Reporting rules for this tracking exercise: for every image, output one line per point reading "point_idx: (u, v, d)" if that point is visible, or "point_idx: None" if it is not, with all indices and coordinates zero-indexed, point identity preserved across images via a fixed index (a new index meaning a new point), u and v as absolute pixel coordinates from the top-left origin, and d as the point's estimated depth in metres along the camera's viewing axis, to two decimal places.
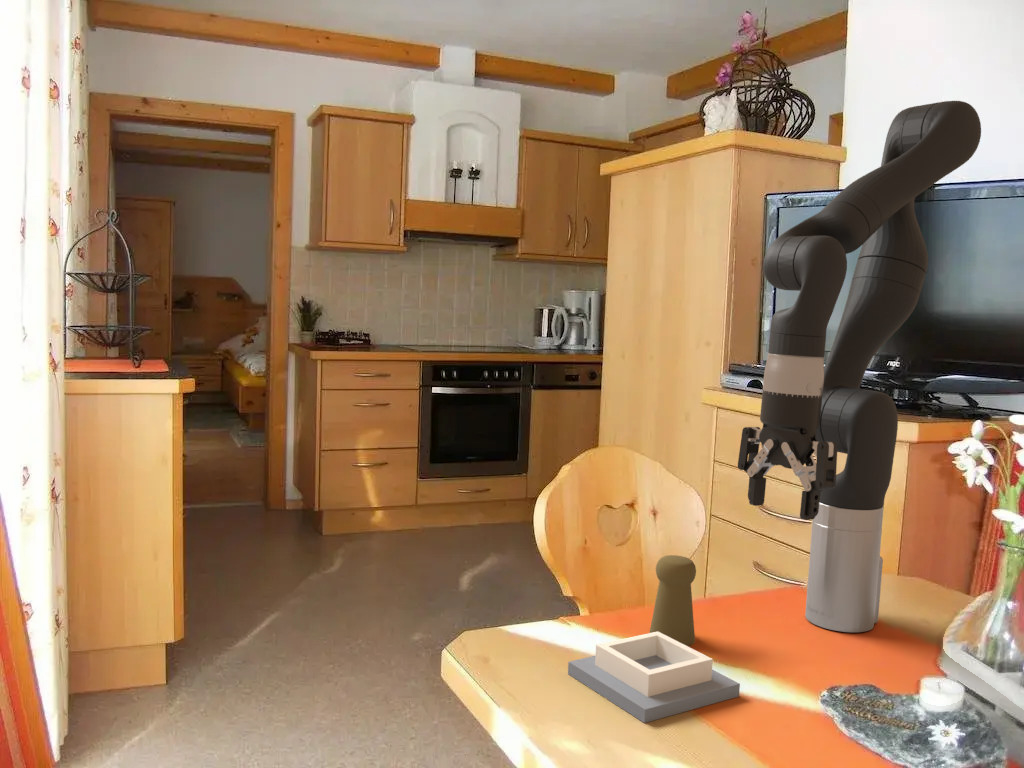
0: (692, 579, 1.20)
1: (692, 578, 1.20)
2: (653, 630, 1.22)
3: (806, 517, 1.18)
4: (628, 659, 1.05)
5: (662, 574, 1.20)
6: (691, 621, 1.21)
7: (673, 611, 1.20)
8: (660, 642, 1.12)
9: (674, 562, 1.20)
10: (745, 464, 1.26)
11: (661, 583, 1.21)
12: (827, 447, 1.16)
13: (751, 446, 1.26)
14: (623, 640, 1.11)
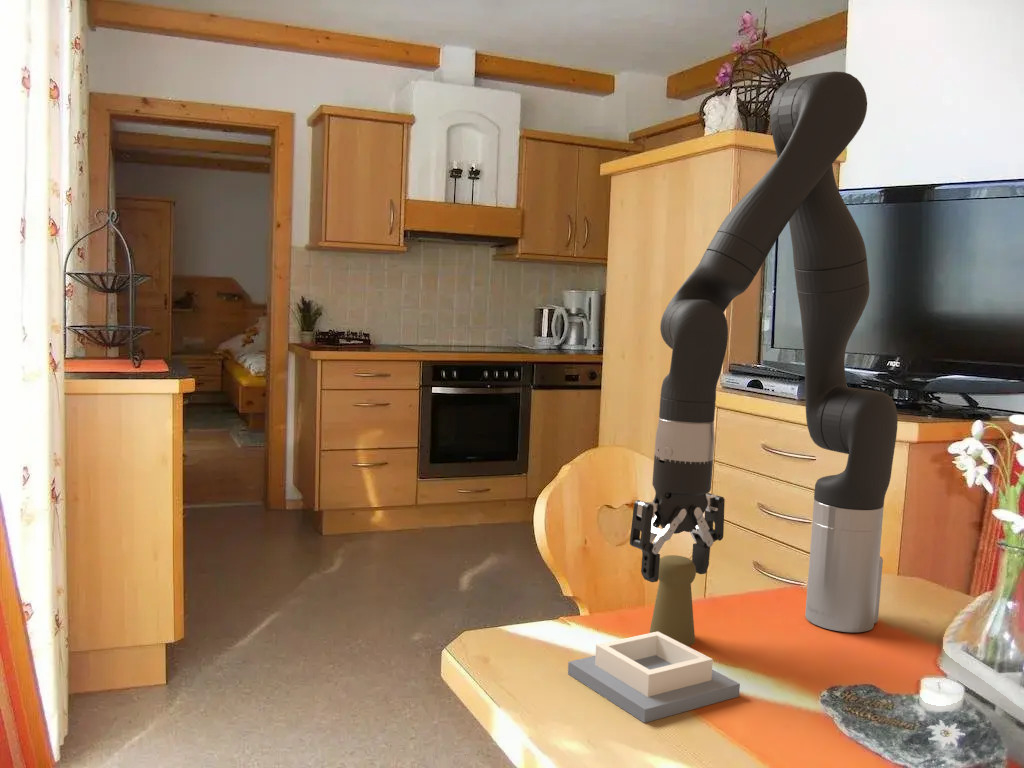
0: (692, 579, 1.20)
1: (692, 578, 1.20)
2: (653, 630, 1.22)
3: None
4: (628, 659, 1.05)
5: (662, 574, 1.20)
6: (691, 621, 1.21)
7: (673, 611, 1.20)
8: (660, 642, 1.12)
9: (674, 562, 1.20)
10: None
11: (661, 583, 1.21)
12: None
13: None
14: (623, 640, 1.11)
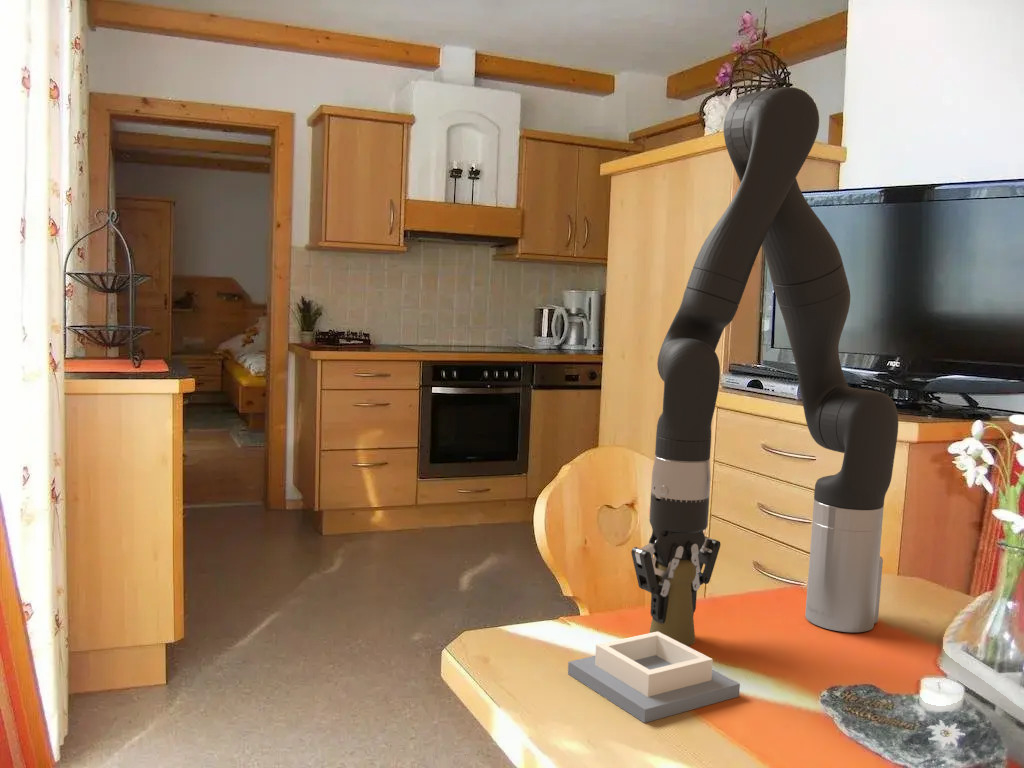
0: (692, 579, 1.20)
1: (692, 578, 1.20)
2: (653, 630, 1.22)
3: None
4: (628, 659, 1.05)
5: None
6: (691, 621, 1.21)
7: (673, 611, 1.20)
8: (660, 642, 1.12)
9: None
10: None
11: None
12: None
13: None
14: (623, 640, 1.11)
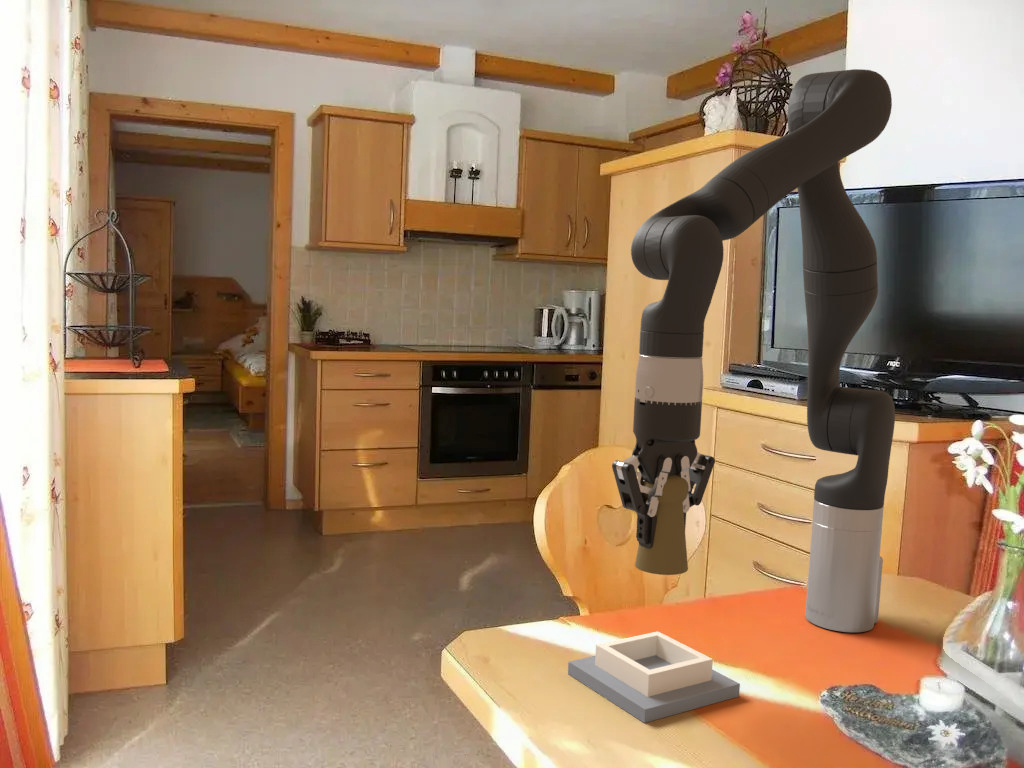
0: (684, 497, 1.04)
1: (684, 495, 1.04)
2: (640, 557, 1.05)
3: None
4: (628, 659, 1.05)
5: None
6: (683, 546, 1.05)
7: (662, 534, 1.04)
8: (660, 642, 1.12)
9: None
10: None
11: None
12: None
13: None
14: (623, 640, 1.11)
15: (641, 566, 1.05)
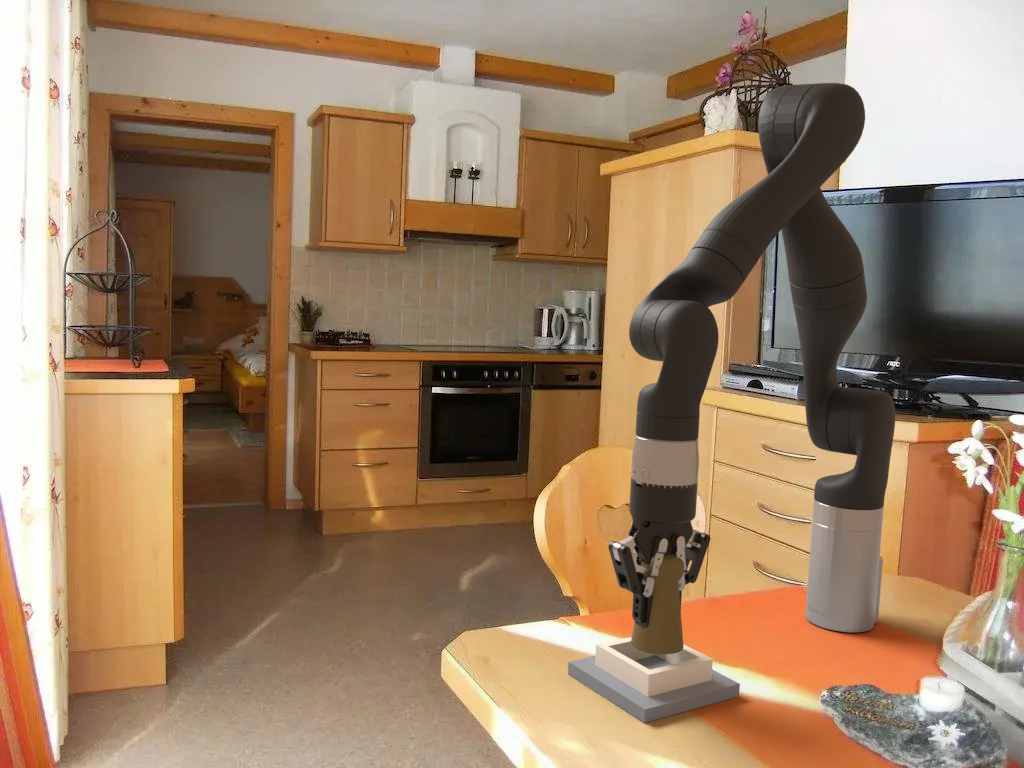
0: (680, 576, 1.05)
1: (680, 575, 1.05)
2: (635, 635, 1.06)
3: None
4: (628, 659, 1.05)
5: None
6: (679, 624, 1.06)
7: (658, 613, 1.05)
8: None
9: None
10: (638, 583, 1.04)
11: None
12: None
13: None
14: (623, 640, 1.11)
15: (637, 644, 1.06)
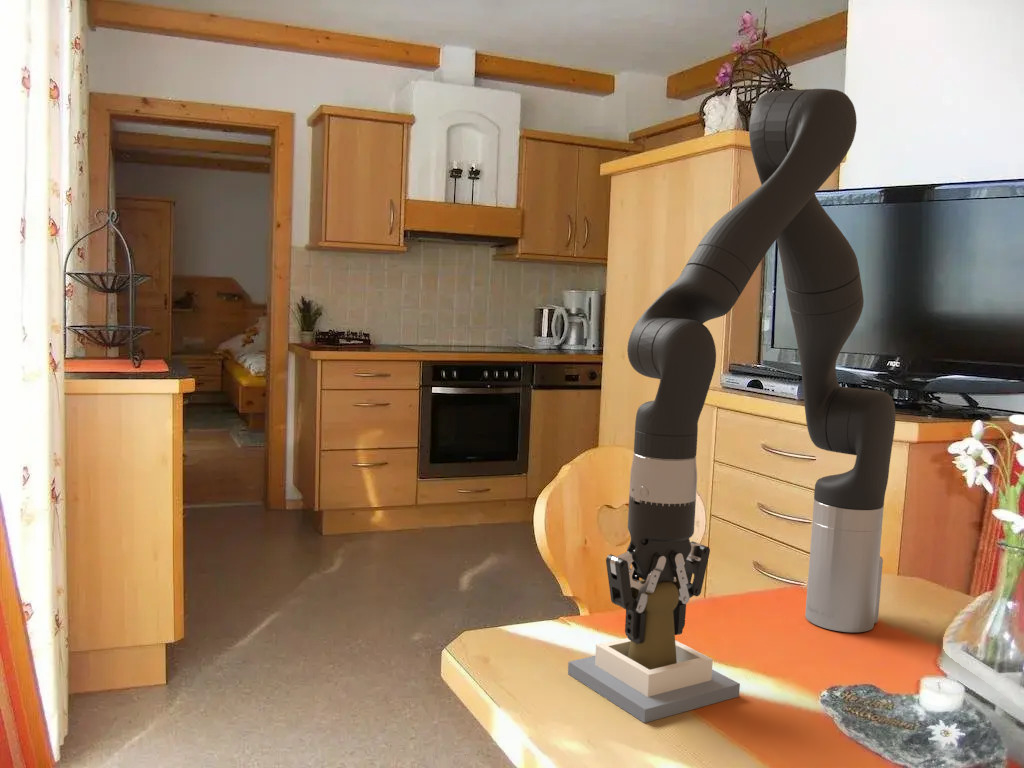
0: (674, 606, 1.05)
1: (674, 604, 1.05)
2: None
3: None
4: (628, 659, 1.05)
5: None
6: (673, 653, 1.06)
7: (652, 642, 1.05)
8: None
9: None
10: None
11: None
12: None
13: None
14: (623, 640, 1.11)
15: None
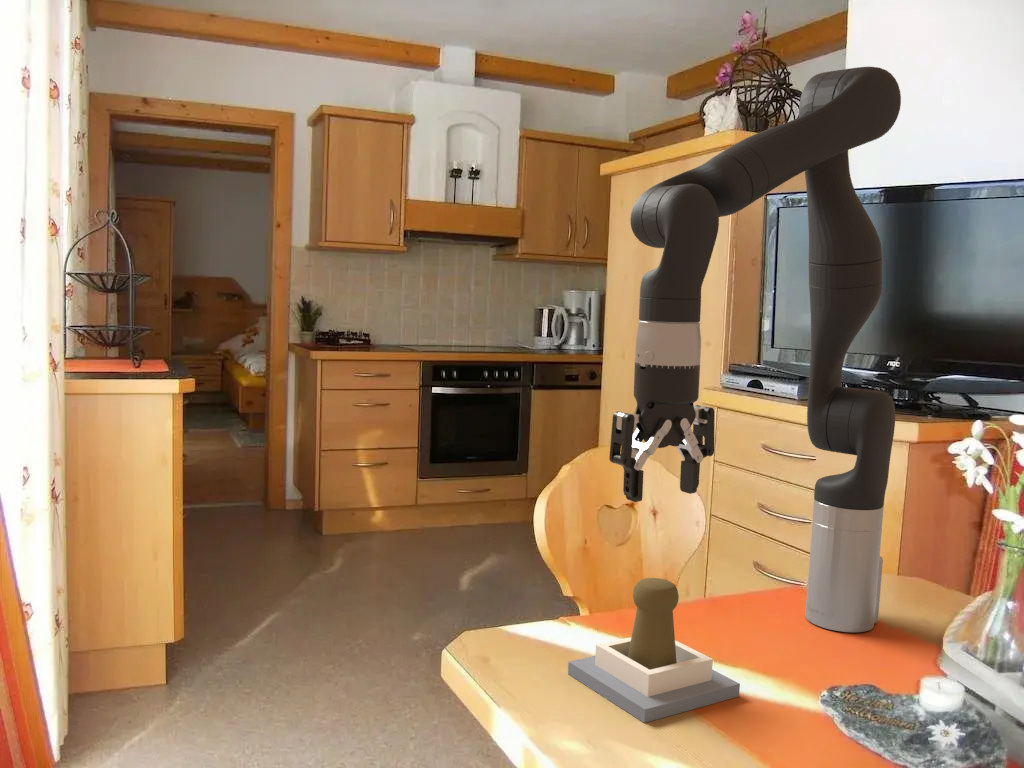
0: (674, 606, 1.05)
1: (674, 605, 1.05)
2: None
3: None
4: (628, 659, 1.05)
5: (639, 599, 1.05)
6: (673, 654, 1.06)
7: (651, 643, 1.05)
8: None
9: (653, 587, 1.05)
10: None
11: (638, 610, 1.06)
12: None
13: None
14: (623, 640, 1.11)
15: None
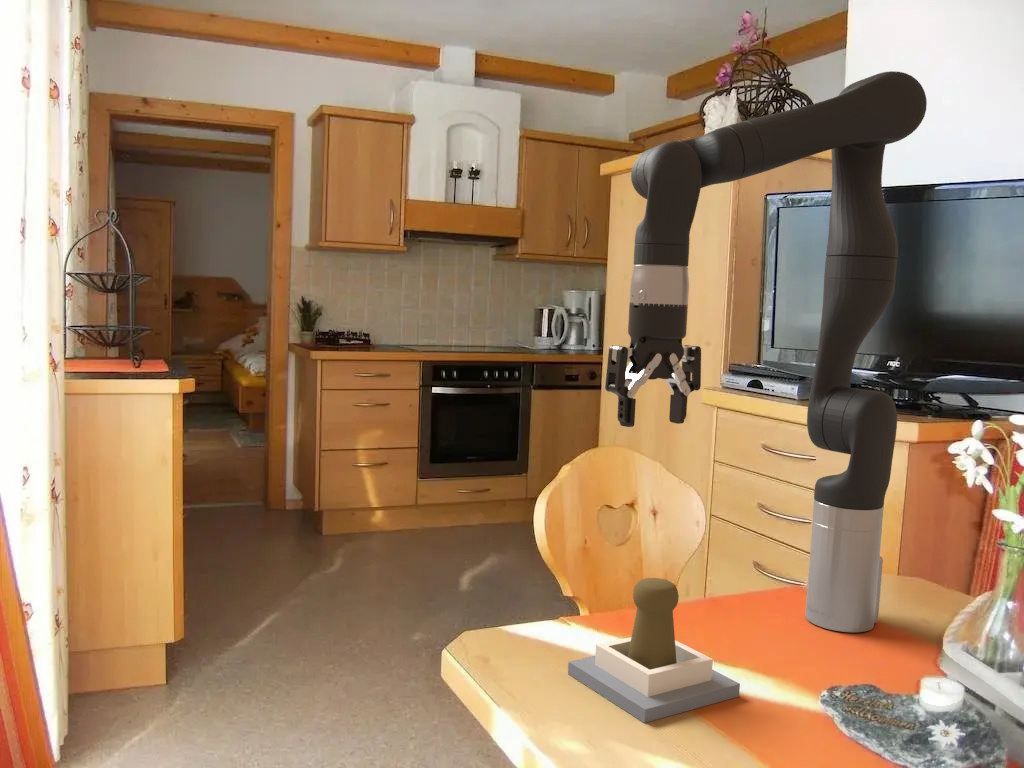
0: (674, 606, 1.05)
1: (674, 605, 1.05)
2: None
3: None
4: (628, 659, 1.05)
5: (639, 599, 1.05)
6: (673, 654, 1.06)
7: (651, 643, 1.05)
8: None
9: (653, 587, 1.05)
10: None
11: (638, 610, 1.06)
12: None
13: None
14: (623, 640, 1.11)
15: None
